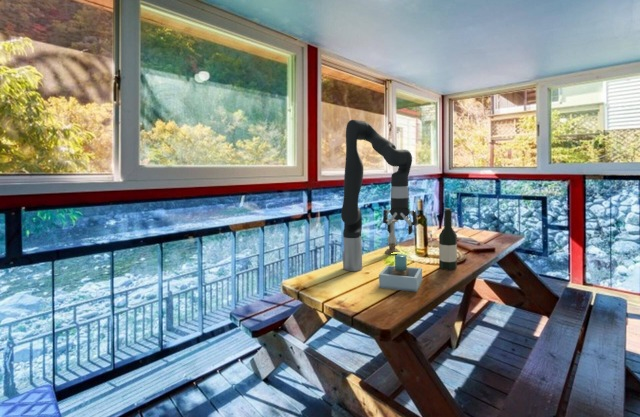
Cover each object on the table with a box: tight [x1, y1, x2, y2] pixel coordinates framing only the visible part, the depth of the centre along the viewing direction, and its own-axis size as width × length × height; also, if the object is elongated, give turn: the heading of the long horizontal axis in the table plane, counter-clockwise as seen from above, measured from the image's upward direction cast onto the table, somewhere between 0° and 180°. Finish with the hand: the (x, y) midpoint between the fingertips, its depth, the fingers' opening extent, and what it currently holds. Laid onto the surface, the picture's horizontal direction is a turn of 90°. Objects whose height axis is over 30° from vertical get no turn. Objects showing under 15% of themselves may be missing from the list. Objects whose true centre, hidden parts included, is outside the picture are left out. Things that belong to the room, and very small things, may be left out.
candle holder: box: [384, 218, 401, 256], centre depth 201 cm, size 9×9×20 cm
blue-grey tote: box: [378, 264, 423, 293], centre depth 150 cm, size 16×14×6 cm
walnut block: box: [392, 266, 409, 276], centre depth 150 cm, size 6×7×6 cm
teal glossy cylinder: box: [394, 253, 408, 271], centre depth 149 cm, size 5×5×6 cm
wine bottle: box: [438, 208, 458, 271], centre depth 168 cm, size 8×8×30 cm
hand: (399, 233), depth 147 cm, fingers open, 8 cm apart
